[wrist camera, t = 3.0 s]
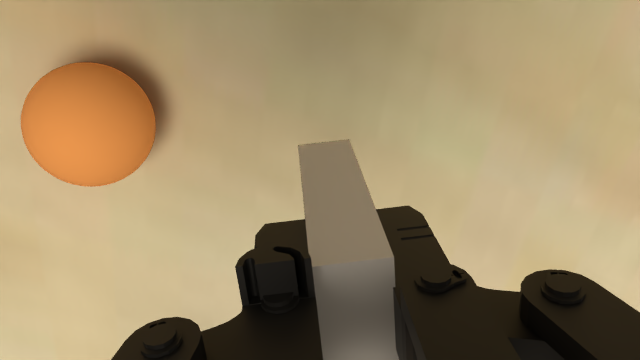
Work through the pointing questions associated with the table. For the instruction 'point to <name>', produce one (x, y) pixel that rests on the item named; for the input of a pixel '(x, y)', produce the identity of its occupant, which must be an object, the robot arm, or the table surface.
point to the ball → (88, 124)
